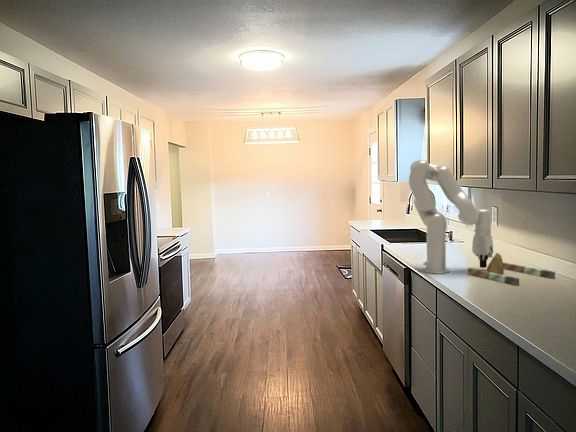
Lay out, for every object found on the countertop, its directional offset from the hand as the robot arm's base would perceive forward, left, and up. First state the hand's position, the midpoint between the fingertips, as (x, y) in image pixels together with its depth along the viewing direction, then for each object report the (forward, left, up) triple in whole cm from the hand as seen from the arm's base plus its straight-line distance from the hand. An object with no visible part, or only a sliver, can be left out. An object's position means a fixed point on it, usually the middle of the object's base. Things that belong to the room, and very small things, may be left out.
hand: (483, 267), depth 233 cm
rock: (+7, 0, -2) cm, 8 cm away
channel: (+16, 0, -2) cm, 17 cm away
